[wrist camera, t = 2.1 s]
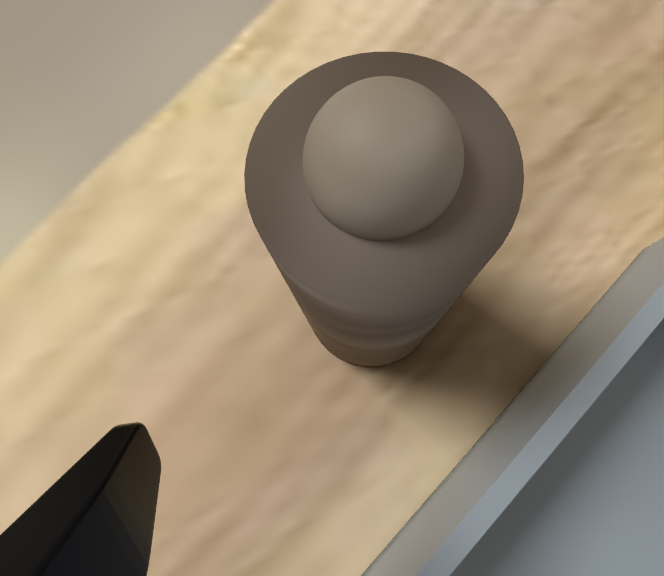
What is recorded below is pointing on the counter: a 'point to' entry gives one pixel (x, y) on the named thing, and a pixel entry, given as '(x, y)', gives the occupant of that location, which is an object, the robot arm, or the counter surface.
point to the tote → (562, 459)
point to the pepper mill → (382, 196)
